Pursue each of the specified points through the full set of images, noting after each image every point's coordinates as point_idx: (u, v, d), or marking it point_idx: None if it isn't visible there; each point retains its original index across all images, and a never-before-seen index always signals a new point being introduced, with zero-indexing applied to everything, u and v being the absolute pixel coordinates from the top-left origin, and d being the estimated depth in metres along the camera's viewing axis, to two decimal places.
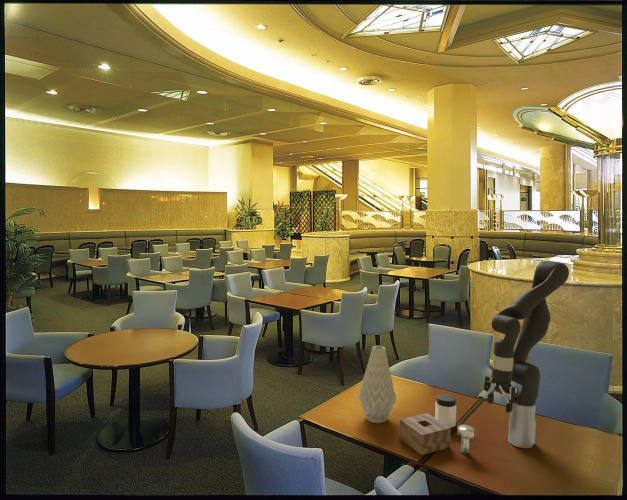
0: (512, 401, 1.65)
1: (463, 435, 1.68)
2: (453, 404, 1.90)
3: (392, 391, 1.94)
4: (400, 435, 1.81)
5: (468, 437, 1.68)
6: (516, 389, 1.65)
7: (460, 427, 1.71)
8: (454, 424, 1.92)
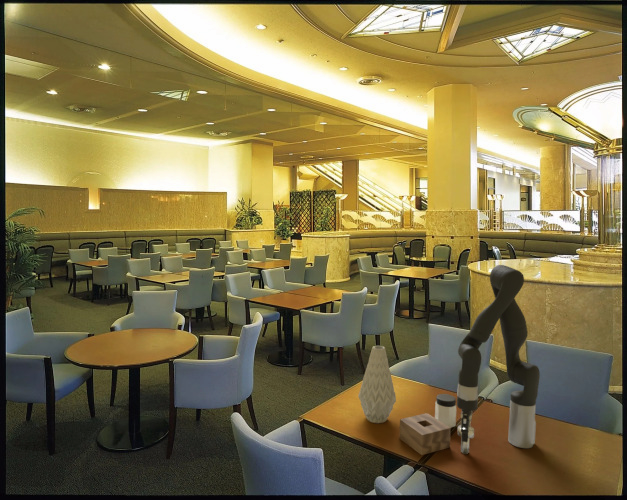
0: None
1: None
2: (453, 404, 1.90)
3: (392, 391, 1.94)
4: (400, 435, 1.81)
5: (468, 437, 1.68)
6: None
7: (460, 427, 1.71)
8: (454, 424, 1.92)
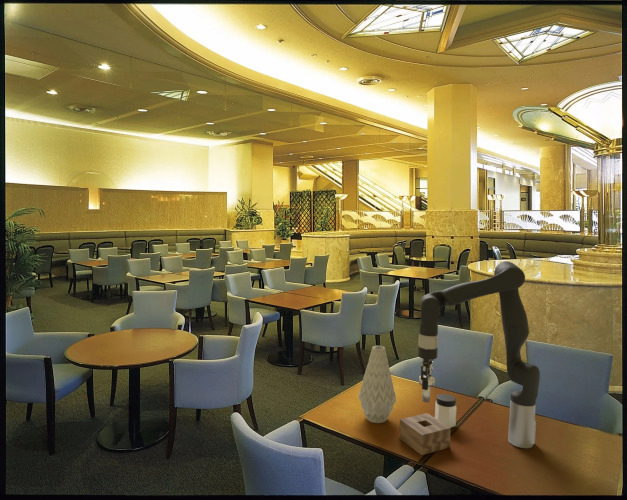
0: (432, 369, 1.80)
1: None
2: (453, 404, 1.90)
3: (392, 391, 1.94)
4: (400, 435, 1.81)
5: (428, 385, 1.73)
6: None
7: None
8: (454, 424, 1.92)
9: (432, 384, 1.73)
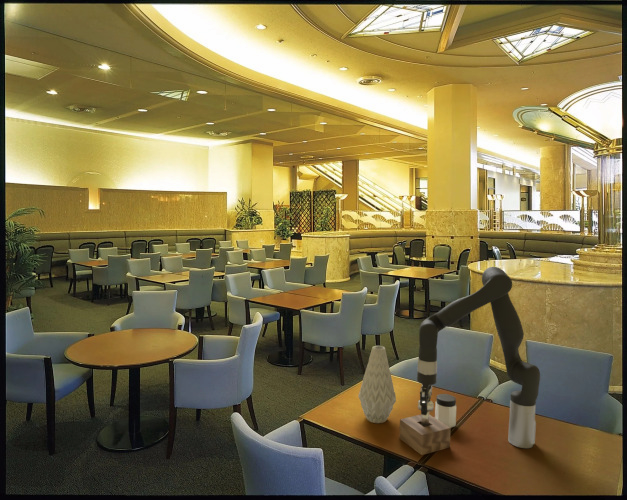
0: None
1: None
2: (453, 404, 1.90)
3: (392, 391, 1.94)
4: (400, 435, 1.81)
5: (427, 410, 1.74)
6: None
7: None
8: (454, 424, 1.92)
9: (431, 409, 1.74)
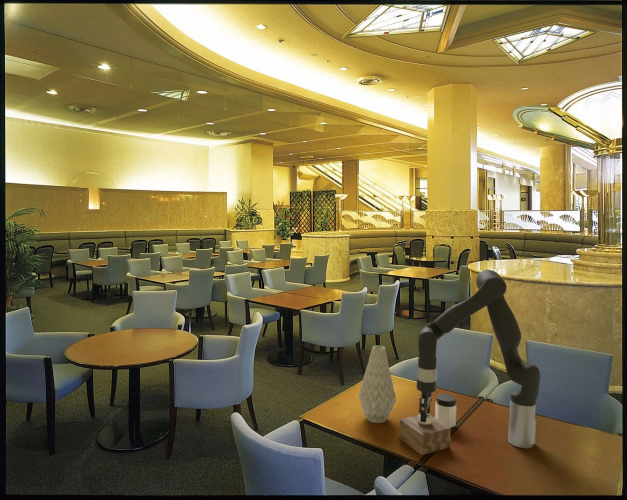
0: (431, 399, 1.82)
1: (422, 424, 1.75)
2: (453, 404, 1.90)
3: (392, 391, 1.94)
4: (400, 435, 1.81)
5: (427, 426, 1.74)
6: None
7: None
8: (454, 424, 1.92)
9: (430, 424, 1.75)
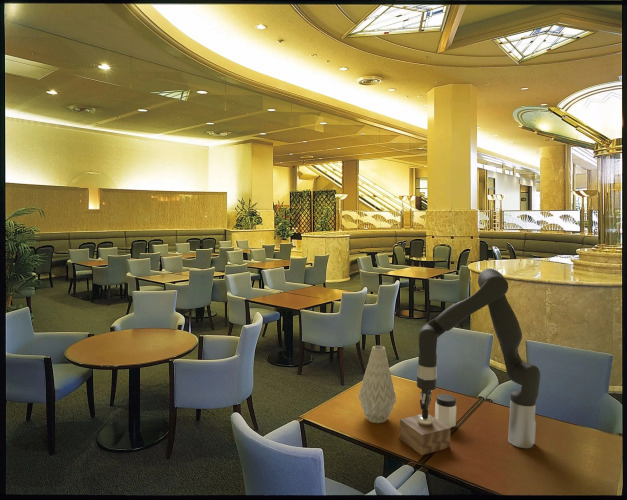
0: None
1: (422, 424, 1.75)
2: (453, 404, 1.90)
3: (392, 391, 1.94)
4: (400, 435, 1.81)
5: (427, 426, 1.74)
6: None
7: (420, 416, 1.78)
8: (454, 424, 1.92)
9: (430, 424, 1.75)
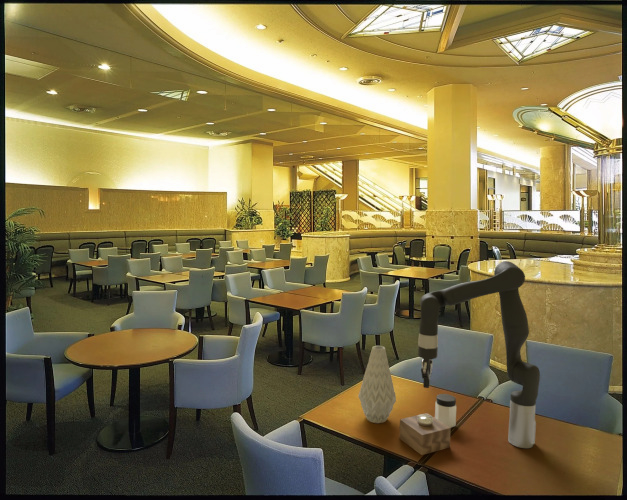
0: None
1: (422, 424, 1.75)
2: (453, 404, 1.90)
3: (392, 391, 1.94)
4: (400, 435, 1.81)
5: (427, 426, 1.74)
6: None
7: (420, 416, 1.78)
8: (454, 424, 1.92)
9: (430, 424, 1.75)
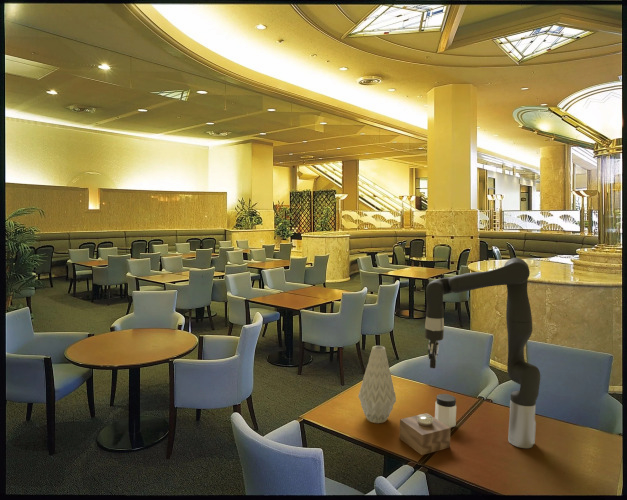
0: (437, 353, 1.89)
1: (422, 424, 1.75)
2: (453, 404, 1.90)
3: (392, 391, 1.94)
4: (400, 435, 1.81)
5: (427, 426, 1.74)
6: None
7: (420, 416, 1.78)
8: (454, 424, 1.92)
9: (430, 424, 1.75)
